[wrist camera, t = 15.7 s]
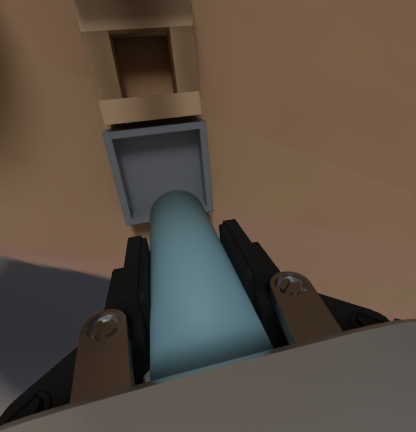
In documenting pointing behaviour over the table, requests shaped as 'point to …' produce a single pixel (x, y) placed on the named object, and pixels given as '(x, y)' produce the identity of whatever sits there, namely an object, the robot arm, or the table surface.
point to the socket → (133, 28)
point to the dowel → (195, 293)
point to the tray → (158, 164)
